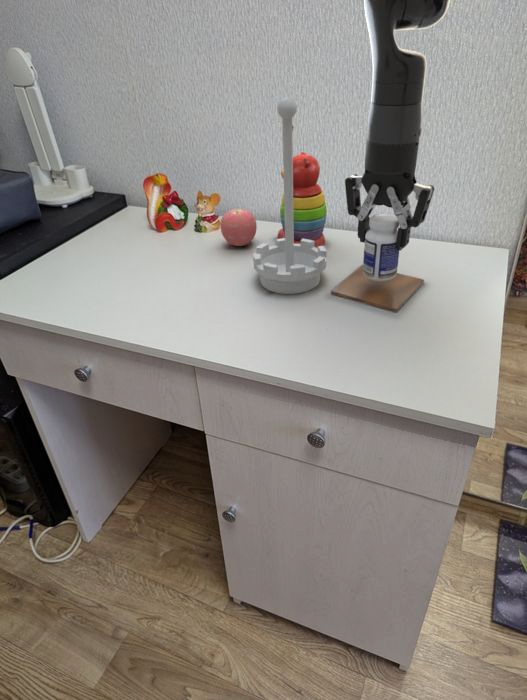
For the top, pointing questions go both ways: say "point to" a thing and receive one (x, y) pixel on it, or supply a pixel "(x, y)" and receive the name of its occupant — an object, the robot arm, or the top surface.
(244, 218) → the apple
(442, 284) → the top surface
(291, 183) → the grey countertop holder stand
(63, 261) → the top surface
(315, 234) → the stacking bear
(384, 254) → the pill bottle
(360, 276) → the coaster
